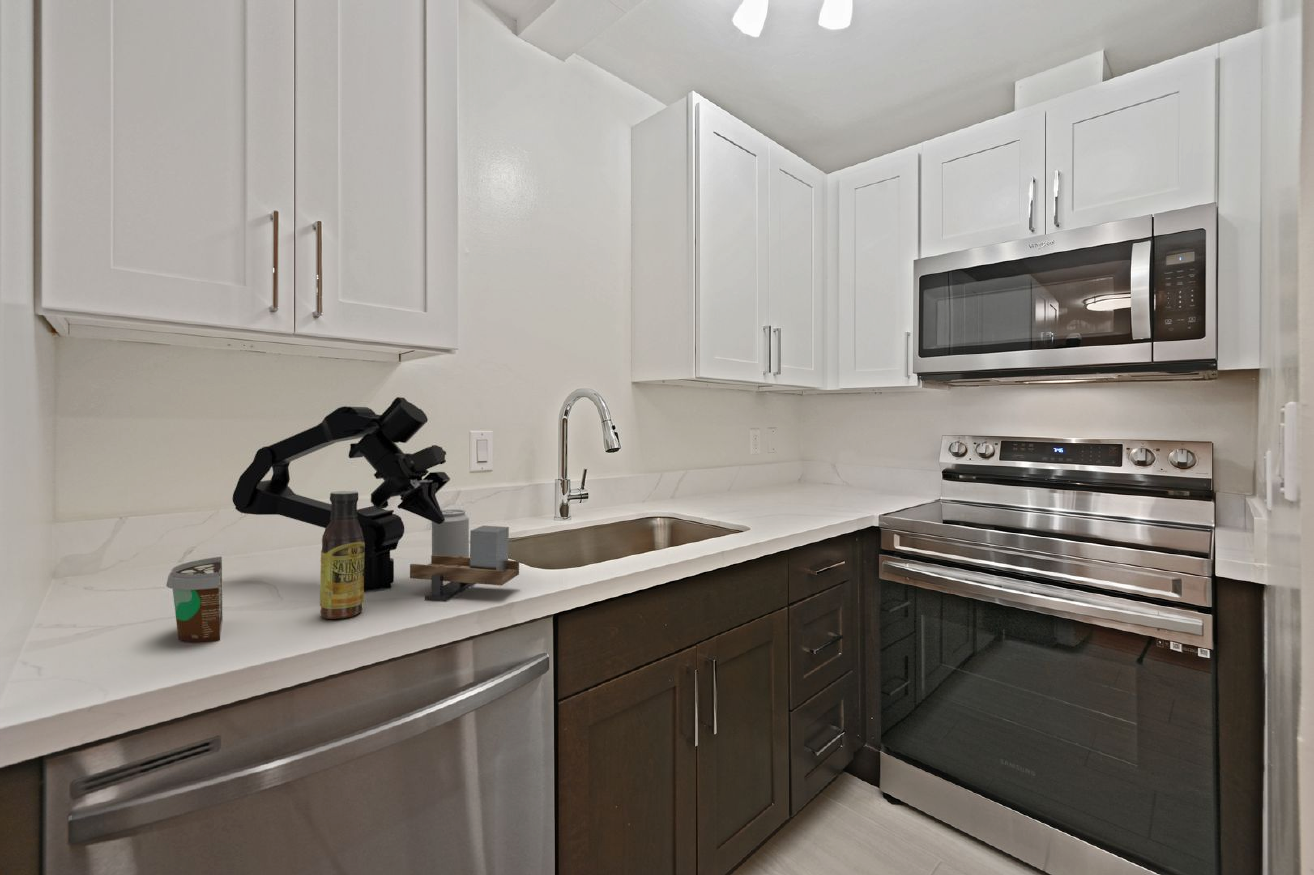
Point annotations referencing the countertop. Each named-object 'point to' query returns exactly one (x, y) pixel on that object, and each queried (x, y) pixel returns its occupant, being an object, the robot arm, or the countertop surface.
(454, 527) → the can
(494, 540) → the steel block
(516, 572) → the beam
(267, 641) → the countertop surface
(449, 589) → the stand
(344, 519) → the sauce bottle
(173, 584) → the food container
